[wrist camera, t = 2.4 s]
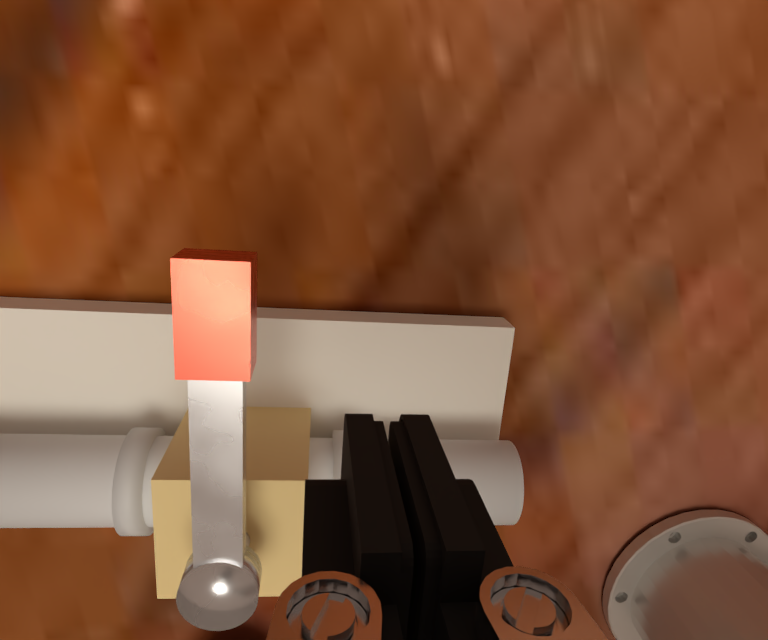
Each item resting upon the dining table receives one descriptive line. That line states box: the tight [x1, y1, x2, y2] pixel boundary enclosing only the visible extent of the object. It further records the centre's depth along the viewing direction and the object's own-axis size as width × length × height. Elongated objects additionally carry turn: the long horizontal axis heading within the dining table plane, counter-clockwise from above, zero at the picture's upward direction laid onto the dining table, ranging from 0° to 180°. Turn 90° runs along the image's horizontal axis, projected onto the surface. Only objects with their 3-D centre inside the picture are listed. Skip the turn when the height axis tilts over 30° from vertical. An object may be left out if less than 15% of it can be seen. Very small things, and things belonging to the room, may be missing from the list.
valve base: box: [0, 297, 524, 599], centre depth 27 cm, size 28×12×10 cm, turn 86°
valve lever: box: [170, 248, 262, 631], centre depth 20 cm, size 14×3×2 cm, turn 176°
